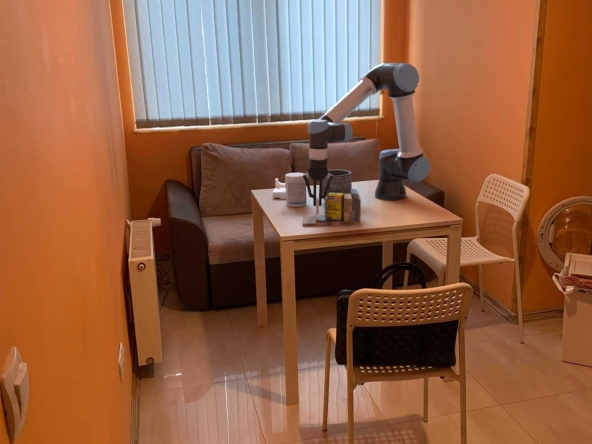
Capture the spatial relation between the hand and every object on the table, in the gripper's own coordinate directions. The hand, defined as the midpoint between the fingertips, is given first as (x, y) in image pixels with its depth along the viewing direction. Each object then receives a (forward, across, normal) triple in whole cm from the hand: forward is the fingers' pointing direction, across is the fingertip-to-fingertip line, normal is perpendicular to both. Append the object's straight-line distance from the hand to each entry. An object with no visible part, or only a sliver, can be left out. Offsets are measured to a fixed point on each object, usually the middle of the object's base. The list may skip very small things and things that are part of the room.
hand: (317, 213), depth 249 cm
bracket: (+5, +17, -46) cm, 50 cm away
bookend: (+2, -2, 0) cm, 3 cm away
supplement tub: (+4, +9, -28) cm, 30 cm away
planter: (+4, -10, -30) cm, 32 cm away
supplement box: (+3, -8, 0) cm, 8 cm away
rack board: (+4, -6, 0) cm, 7 cm away
